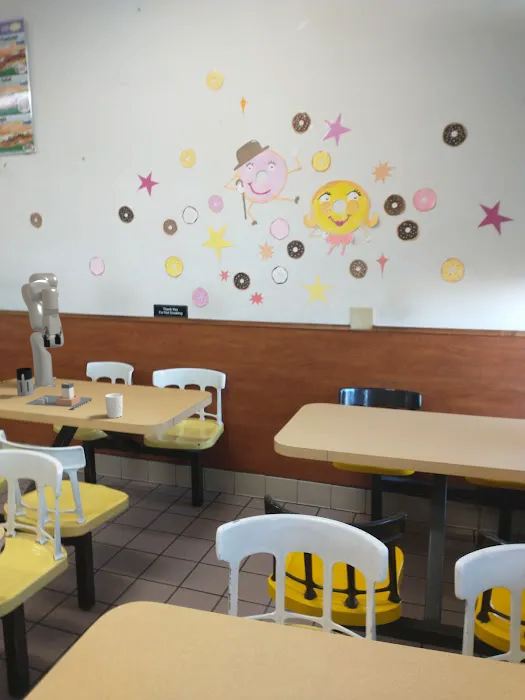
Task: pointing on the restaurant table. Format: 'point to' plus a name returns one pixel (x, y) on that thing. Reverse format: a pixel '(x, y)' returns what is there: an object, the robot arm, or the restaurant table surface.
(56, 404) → the board
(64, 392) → the salt shaker
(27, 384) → the glass holder
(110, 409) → the white cup
